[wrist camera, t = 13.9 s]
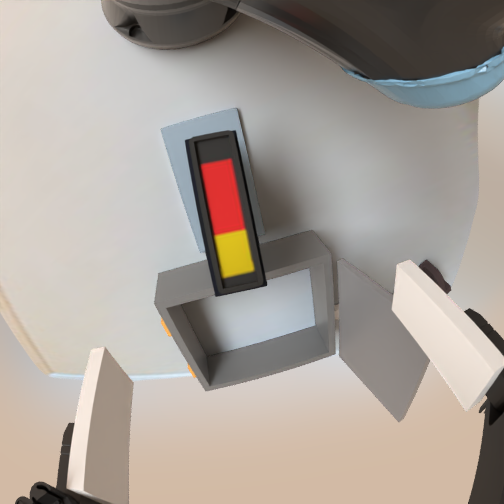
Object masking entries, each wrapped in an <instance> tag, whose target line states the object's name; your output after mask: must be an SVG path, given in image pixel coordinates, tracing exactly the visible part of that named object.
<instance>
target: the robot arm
mask: <svg viewBox="0 0 504 504" xmlns="http://www.w3.org/2000/svg"><path fill="white" fill-rule="evenodd" d="M101 4H102V9H103V12H104V15H105V17H106V19H107V21H108V22H109V24H110V25H111V26H112V27H113V28H114V29H115V30H116V31H117V32H118V33H119V34H120V35H121V36H123V37H124V38H126V39H127V40H129V41H131V42H133V43H135V44H138V45H141V46H144V47H148V48H155V49H176V48H183V47H188V46H192V45H195V44H198V43H201V42H204V41H206V40H208V39H210V38H212V37H214V36H216V35H217V34H219V33H221V32H222V31H223V30H225V29H226V28H227V27H229V26H230V25H231V24H232V23H233V22H234V21H235V20H236V18H237V17H238V16H239V15H240V13H243V14H246V15H248V16H250V17H253V18H255V19H257V20H259V21H261V22H263V23H266V24H268V25H270V26H272V27H274V28H276V29H278V30H280V31H282V32H284V33H286V34H288V35H289V36H291V37H293V38H295V39H297V40H299V41H300V42H302V43H304V44H306V45H307V46H309V47H311V48H313V49H314V50H316V51H318V52H319V53H321V54H322V55H324V56H326V57H327V58H329V59H330V60H332V61H334V62H335V63H337V64H338V65H340V66H341V68H342V69H343V70H344V71H345V72H346V73H347V74H349V75H351V76H352V77H354V78H356V79H358V80H361V81H365V82H367V83H368V84H370V85H371V86H373V87H374V88H376V89H377V90H379V91H380V92H381V93H383V94H384V95H386V96H387V97H389V98H390V99H392V100H394V101H397V102H399V103H402V104H408V105H411V106H414V107H419V108H433V109H435V108H447V107H453V106H457V105H461V104H464V103H467V102H470V101H473V100H475V99H477V98H479V97H481V96H483V95H485V94H487V93H488V92H490V91H491V90H493V89H494V88H495V87H496V86H498V85H499V84H500V83H501V82H502V81H503V79H504V0H101ZM392 311H393V312H394V313H395V315H396V316H397V317H398V318H399V320H400V321H401V322H402V323H403V325H404V326H405V327H406V329H407V330H408V331H409V332H410V334H411V335H412V336H413V338H414V339H415V340H416V342H417V343H418V344H419V346H420V347H421V348H422V350H423V351H424V352H425V354H426V355H427V356H428V358H429V359H430V360H431V362H432V363H433V365H434V366H435V367H436V369H437V370H438V372H439V373H440V374H441V376H442V377H443V379H444V380H445V381H446V383H447V384H448V386H449V387H450V389H451V390H452V392H453V393H454V395H455V396H456V397H457V399H458V400H459V402H460V403H461V405H462V406H463V408H464V409H465V411H466V412H467V411H468V410H470V409H471V408H472V407H473V406H475V405H476V404H478V403H479V402H480V401H481V399H482V398H483V397H484V395H486V396H487V400H486V401H485V402H484V404H483V405H482V406H481V407H480V410H479V413H481V412H482V411H483V410H484V409H485V407H486V410H485V412H484V413H485V420H484V429H483V436H482V444H481V450H480V456H479V461H478V466H477V471H476V475H475V479H474V484H473V488H472V491H471V495H470V499H469V502H468V504H504V340H503V338H502V337H501V336H500V335H499V334H498V333H497V332H496V331H495V330H493V328H492V326H491V325H490V324H488V323H487V321H486V320H485V319H484V318H483V317H482V316H481V315H480V314H479V313H477V312H475V311H473V310H472V309H470V308H469V309H468V310H466V311H463V310H462V309H461V308H460V307H459V306H458V305H457V304H456V303H455V302H454V301H453V300H452V299H451V298H450V297H449V296H448V295H447V294H446V293H445V292H444V291H443V290H442V289H441V288H440V287H439V286H438V285H437V284H436V283H435V282H434V281H433V280H432V279H431V278H429V277H428V276H427V275H426V274H425V273H424V272H423V271H422V270H421V269H420V268H419V267H418V266H417V265H416V264H414V263H413V262H412V261H411V260H407V261H404V262H402V263H399V264H397V267H396V278H395V287H394V295H393V303H392ZM132 395H133V381H132V380H131V379H130V378H129V377H128V375H127V374H126V373H125V372H124V371H123V369H122V368H121V367H120V366H119V364H118V363H117V362H116V361H115V359H114V358H113V357H112V355H111V354H110V353H109V351H108V350H107V349H106V347H100V348H95V349H91V352H90V356H89V360H88V364H87V368H86V372H85V376H84V380H83V384H82V389H81V393H80V398H79V403H78V408H77V413H76V418H75V423H69V424H68V426H67V428H66V430H65V432H64V435H63V441H62V445H63V446H62V447H61V455H60V462H59V469H58V478H57V486H56V488H54V487H52V486H50V485H48V484H47V483H44V482H37V483H35V484H34V485H33V486H32V488H31V491H30V499H28V498H26V497H19V498H18V499H17V500H16V502H15V504H129V439H130V421H131V406H132Z"/></svg>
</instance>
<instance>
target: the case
mask: <svg viewBox="0 0 504 504" xmlns="http://www.w3.org/2000/svg"><path fill="white" fill-rule="evenodd" d="M260 251H261V256H262V261H263V266H264V271H265V276H266V280H269V279H273V278H276V277H280V276H283V275H287V274H290V273H293V272H297V271H300V270H303V269H307V268H310V277H311V285H312V294H313V304H314V313H315V324H316V326H313V327H310V328H306V329H303V330H300V331H297V332H294V333H291V334H288V335H284V336H281V337H278V338H274V339H271V340H268V341H264V342H261V343H257V344H253V345H250V346H246V347H243V348H239V349H235V350H231V351H227V352H223V353H220V354H216V355H211V356H206V354H205V352H204V350H203V348H202V347H201V345H200V343H199V341H198V339H197V337H196V335H195V333H194V331H193V329H192V327H191V325H190V323H189V321H188V318H187V316H186V314H185V312H184V310H183V308H182V306H181V304H183V303H187V302H191V301H194V300H198V299H202V298H206V297H209V296H213V295H215V293H214V288H213V284H212V279H211V275H210V270H209V266H208V261H207V260H204V261H200V262H197V263H193V264H190V265H186V266H183V267H179V268H176V269H172V270H169V271H165V272H162V273H158V280H157V287H156V294H155V301H154V304H155V306H156V308H157V310H158V312H159V314H160V315H161V317H162V318H161V324H162V325H163V327H164V329H165V331H166V332H167V334H168V336H172V337H173V339H174V340H175V342H176V344H177V346H178V347H179V349H180V351H181V352H182V354H183V356H184V357H185V359H186V361H187V362H188V369H189V371H190V372H191V374H192V375H193V377H194V378H195V377H197V378H198V380H199V382H200V383H201V385H202V386H203V388H204V389H205V391H210V390H214V389H218V388H223V387H227V386H231V385H235V384H239V383H243V382H247V381H251V380H255V379H259V378H262V377H266V376H269V375H273V374H276V373H280V372H283V371H286V370H289V369H293V368H296V367H299V366H302V365H305V364H308V363H311V362H314V361H317V360H320V359H323V358H326V357H329V356H331V355H334V354H335V320H338V319H339V304H338V305H335V306H334V287H333V270H332V256H331V252H330V251H329V250H328V249H327V247H326V246H325V245H324V244H323V243H322V241H321V240H320V239H319V238H318V236H317V235H316V234H315V233H314V232H313V231H312V230H311V231H307V232H303V233H300V234H296V235H293V236H289V237H286V238H282V239H278V240H275V241H271V242H268V243H264V244H261V245H260Z"/></svg>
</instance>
